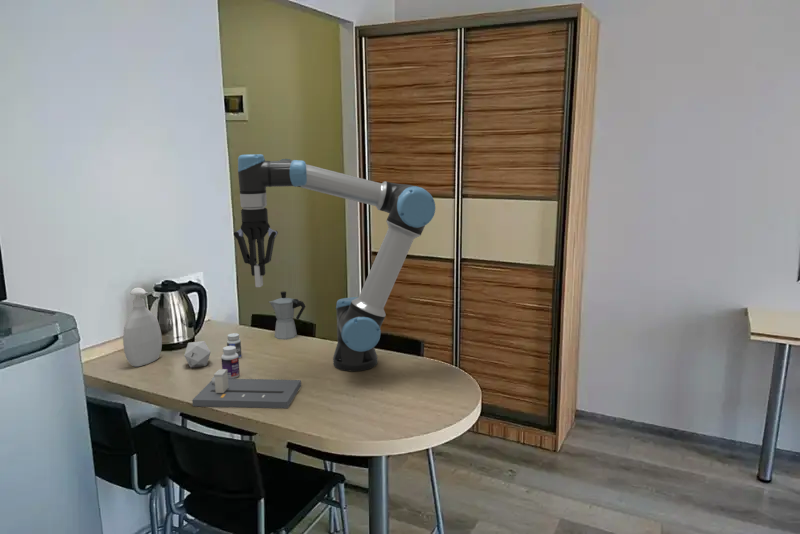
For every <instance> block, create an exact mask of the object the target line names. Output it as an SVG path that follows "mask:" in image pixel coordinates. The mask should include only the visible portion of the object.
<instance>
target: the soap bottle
mask: <svg viewBox="0 0 800 534" xmlns="http://www.w3.org/2000/svg"><path fill="white" fill-rule="evenodd" d="M129 294H130V295H132V296H136V298H134V299H133V300H132V304H133V305H132V306H133V308H132V309H131V312H130V313H129V314H128V316H127V318H126V322H125V324H124V327H123V336H122V337H123V339H122V341H123V342H122V344H123V352H124V355H125V359H126V360H127V362H128V363H129V365H130V366H132V367H136V368H137V367H142V366H146V365H149V364H151V363H153V362H156V361H157V360H158V359H159V358H160V355H161V351H162V346H163V338H162V331H161V327H160V324H159V320H158V318H157V317H156V316H155V314H154V313H153V312H152V311H150V310H149V309H148V308H147V307H146V301H145V299H144V298H143V297H141V295H142V296H145V295H148V294H149V291H146V290H145V289H144V288H142V287H135V288H132V289H131V291H130V292H129Z"/></svg>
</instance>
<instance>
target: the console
mask: <svg viewBox="0 0 800 534" xmlns="http://www.w3.org/2000/svg"><path fill="white" fill-rule="evenodd" d="M228 387H229V388H228V389H227V390H226V391H225V392H224V393H216V390H215V378H214V376H213V377H212V378H211V380H210V381H209V383H207V385H205V386H204V387H203V389H202V390H200V391H199V392H198V393H197V395H195V396H194V398H192V400H191V401H192V407H205V408H206V407H207V408H208V407H210V408H211V407H213V408H247V409H248V408H249V409H250V408H251V409H252V408H256V409H288V408H289V407H290V405H291V404H292V402H293V400H294V398H295V396H296V395H297V393H298V392H299V390H300V389H301V387H302V380H301V379H276V378H275V379H270V378H269V379H267V378H266V379H263V378H232V379H228Z"/></svg>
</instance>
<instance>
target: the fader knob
mask: <svg viewBox="0 0 800 534" xmlns="http://www.w3.org/2000/svg"><path fill="white" fill-rule="evenodd" d="M227 372H228V369H222V368H219V369H218V370H217V371H215V373H213V377H214V378H215V390H216V393H224V392H225V391H226V390H227V389H228V388H229V387H228V375H227Z"/></svg>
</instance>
